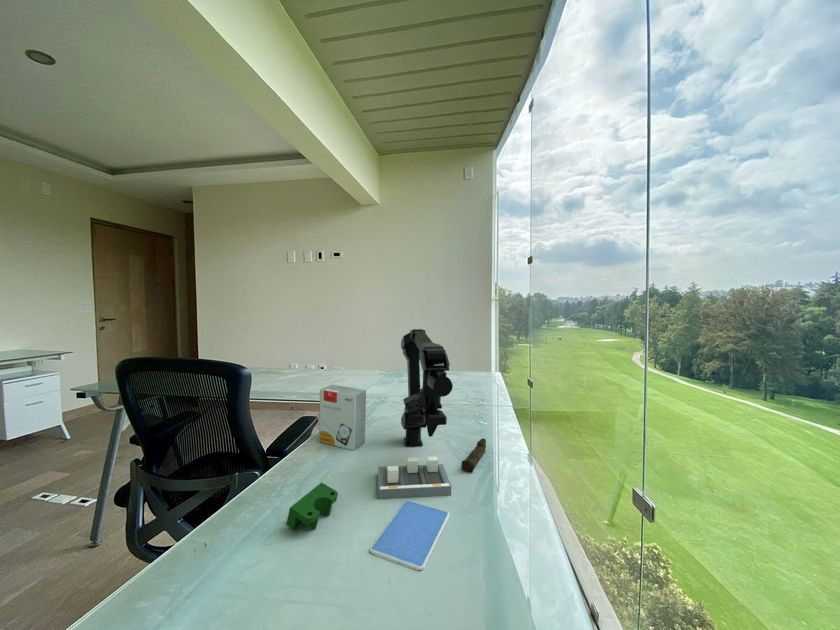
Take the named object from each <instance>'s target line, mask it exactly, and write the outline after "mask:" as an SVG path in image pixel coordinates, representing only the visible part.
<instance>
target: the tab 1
mask: <svg viewBox="0 0 840 630" xmlns="http://www.w3.org/2000/svg"><path fill="white" fill-rule="evenodd" d="M398 466H399V465H389V466H387V483H398V475H399V470H398Z"/></svg>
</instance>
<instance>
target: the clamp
mask: <svg viewBox="0 0 840 630" xmlns="http://www.w3.org/2000/svg"><path fill="white" fill-rule="evenodd" d="M338 496H339V492H338V491H337V490H336V489H333V488H332V487H330V486H328V485H327V484H325V483H324V482H322V481H321V482H320V483H318V485H316V486H315V487H314V488H312V489H311V490H310V491H309V492H308V493H306V494H305V495H304V496H303V497H302V498H300V499H299V500H298V501H296V502H295V503H294V504H292V505H291V506H290V507H289V509H288V515H287V519H286V527H288V528H290V529H291V530H292V531H296V530H297V529H298V528H299V527H301V525H303V524H304V525H306V526H307V527H309V528H310V529H312V530H314V531H316V529H317V526H318V522H319V518H320V514H323V515H325V516H327V517H330V515H331V511H332V509H333V508H332V507H333V504H335V502H337V500H338Z"/></svg>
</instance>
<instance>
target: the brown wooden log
mask: <svg viewBox="0 0 840 630" xmlns="http://www.w3.org/2000/svg"><path fill="white" fill-rule="evenodd" d="M486 448H487V440H486V438H481V439H479V440H478V441H477V442H476V446H475V447H474V449H473V450H472V451H471V452H470V453H469V455H468V456H467V457H466V458H465V459H463V460H462V462H461V470H462V471H463V472H466V473H469V472H471V474H472V473H473V472H474V470H475V467H476V465H477V464H478V463H479V461H480V460H481V458H482V457H483V456H484V455H485V453H486ZM483 454H484V455H483ZM482 455H483V456H482Z"/></svg>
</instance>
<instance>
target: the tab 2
mask: <svg viewBox="0 0 840 630" xmlns="http://www.w3.org/2000/svg"><path fill="white" fill-rule="evenodd" d="M418 465H419V460H418V457H417V456H411V457H410V456H409V457H406V466H407V473H418Z"/></svg>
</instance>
